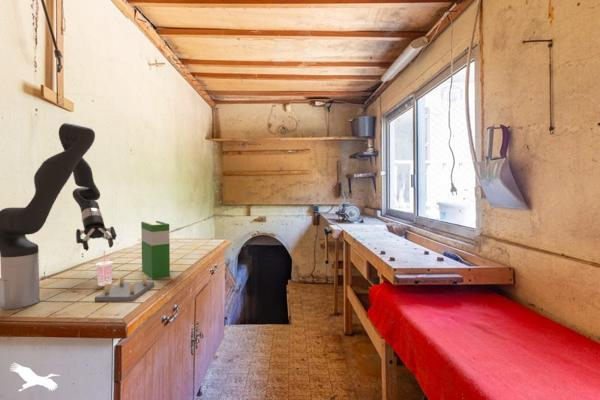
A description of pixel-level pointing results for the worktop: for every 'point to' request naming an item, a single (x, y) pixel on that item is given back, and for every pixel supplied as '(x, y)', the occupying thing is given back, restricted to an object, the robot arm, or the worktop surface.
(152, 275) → the hardback book
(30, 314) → the worktop surface
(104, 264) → the beverage cup
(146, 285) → the chassis
